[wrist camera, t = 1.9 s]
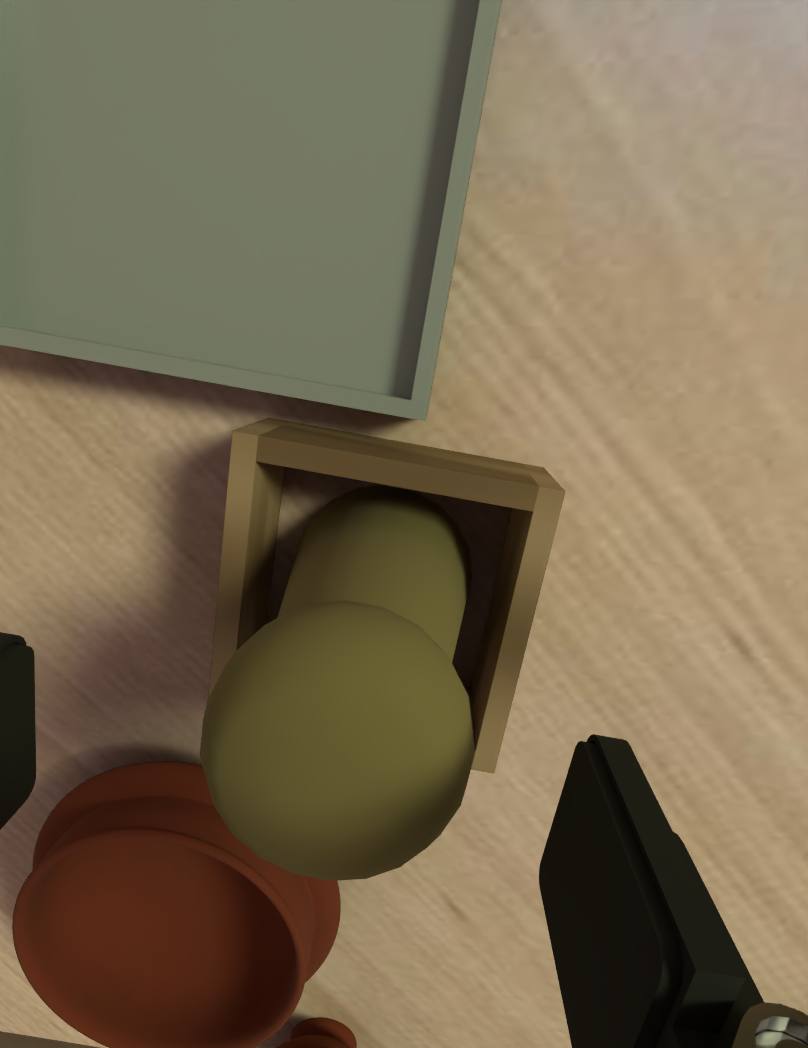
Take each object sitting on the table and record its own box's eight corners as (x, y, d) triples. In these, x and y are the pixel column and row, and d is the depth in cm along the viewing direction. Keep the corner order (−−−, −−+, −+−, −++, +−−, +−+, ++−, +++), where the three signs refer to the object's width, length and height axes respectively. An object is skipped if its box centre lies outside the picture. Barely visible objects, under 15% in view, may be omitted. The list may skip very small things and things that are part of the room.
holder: (485, 709, 22) (494, 773, 18) (242, 663, 22) (206, 720, 18) (543, 467, 19) (565, 491, 16) (268, 417, 19) (232, 431, 16)
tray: (427, 414, 19) (425, 420, 17) (26, 342, 19) (-20, 340, 17) (517, -88, 15) (528, -152, 14) (24, -172, 16) (-34, -247, 14)
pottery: (264, 686, 22) (223, 764, 18) (472, 1056, 27) (478, 1188, 22) (11, 785, 24) (-81, 876, 20) (244, 1115, 29) (210, 1247, 24)
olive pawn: (276, 618, 21) (113, 877, 11) (326, 459, 20) (193, 580, 9) (436, 673, 22) (431, 981, 11) (499, 521, 20) (565, 709, 9)
